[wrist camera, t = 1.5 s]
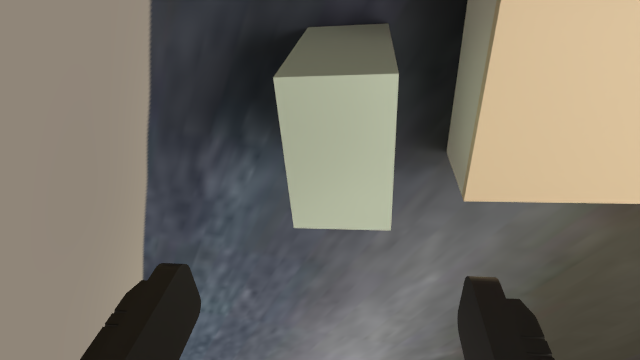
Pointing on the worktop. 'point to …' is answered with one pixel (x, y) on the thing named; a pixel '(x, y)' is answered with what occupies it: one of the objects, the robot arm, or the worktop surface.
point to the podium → (548, 102)
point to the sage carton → (339, 126)
